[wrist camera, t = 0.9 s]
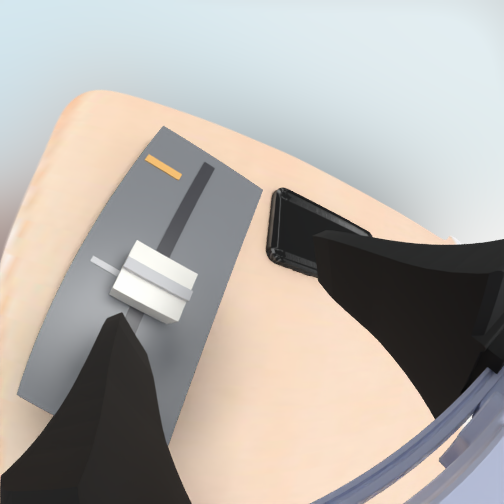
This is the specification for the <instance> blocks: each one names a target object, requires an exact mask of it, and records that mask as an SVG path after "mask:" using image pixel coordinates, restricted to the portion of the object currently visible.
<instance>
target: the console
mask: <svg viewBox="0 0 504 504" xmlns="http://www.w3.org/2000/svg"><path fill="white" fill-rule="evenodd" d="M262 191H263V190H262V189H261V188H260V187H258V186H257V185H255V184H254V183H252V182H251V181H249V180H248V179H246V178H245V177H243V176H242V175H240V174H239V173H237V172H236V171H234V170H233V169H231V168H230V167H228V166H227V165H225V164H223V163H222V162H220V161H219V160H217V159H216V158H214V157H213V156H211V155H210V154H208V153H206V152H205V151H203V150H202V149H200V148H199V147H197V146H195V145H194V144H192V143H191V142H189V141H187V140H186V139H184V138H183V137H181V136H179V135H178V134H176V133H174V132H173V131H171V130H169V129H168V128H166V127H165V126H163V127H162V128H161V129H160V130H159V132H158V133H157V134H156V135H155V137H154V138H153V139H152V141H151V142H150V143H149V144H148V146H147V147H146V148H145V150H144V151H143V152H142V154H141V155H140V156H139V158H138V159H137V160H136V162H135V163H134V165H133V166H132V167H131V169H130V170H129V172H128V173H127V174H126V176H125V177H124V179H123V180H122V182H121V183H120V185H119V186H118V187H117V189H116V190H115V192H114V193H113V195H112V196H111V198H110V200H109V201H108V203H107V204H106V206H105V207H104V209H103V210H102V212H101V214H100V215H99V217H98V218H97V220H96V222H95V223H94V225H93V227H92V228H91V230H90V232H89V233H88V235H87V237H86V239H85V240H84V242H83V244H82V246H81V247H80V249H79V251H78V253H77V255H76V256H75V258H74V260H73V262H72V264H71V266H70V268H69V270H68V271H67V273H66V275H65V277H64V279H63V281H62V283H61V285H60V287H59V289H58V291H57V293H56V296H55V298H54V300H53V302H52V304H51V306H50V308H49V311H48V313H47V315H46V317H45V320H44V322H43V324H42V327H41V329H40V331H39V334H38V336H37V339H36V341H35V344H34V346H33V349H32V352H31V354H30V357H29V360H28V362H27V365H26V368H25V371H24V374H23V377H22V380H21V383H20V386H19V389H18V392H17V395H18V396H20V397H21V398H23V399H25V400H27V401H28V402H30V403H32V404H34V405H35V406H37V407H39V408H41V409H43V410H45V411H47V412H48V413H50V414H52V415H55V413H56V412H57V411H58V409H59V408H60V406H61V405H62V403H63V401H64V400H65V398H66V397H67V395H68V393H69V392H70V390H71V388H72V386H73V385H74V383H75V381H76V379H77V377H78V375H79V373H80V371H81V369H82V367H83V365H84V363H85V361H86V359H87V357H88V355H89V353H90V351H91V349H92V347H93V345H94V343H95V341H96V338H97V336H98V334H99V332H100V330H101V328H102V326H103V324H104V322H105V320H106V319H107V318H108V317H111V316H113V315H116V314H118V313H121V312H122V313H123V314H124V316H125V318H126V320H127V321H128V323H129V325H130V326H131V328H132V330H133V332H134V333H135V335H136V337H137V338H138V340H139V341H140V343H141V345H142V346H143V348H144V350H145V351H146V353H147V355H148V359H149V362H150V366H151V369H152V373H153V377H154V382H155V388H156V394H157V400H158V405H159V411H160V416H161V422H162V427H163V432H164V435H165V439H166V443H167V446H168V445H169V442H170V439H171V436H172V434H173V431H174V428H175V425H176V422H177V420H178V417H179V414H180V411H181V408H182V406H183V403H184V400H185V397H186V395H187V392H188V389H189V386H190V384H191V381H192V378H193V375H194V373H195V370H196V367H197V364H198V362H199V359H200V356H201V353H202V351H203V348H204V345H205V343H206V340H207V337H208V334H209V332H210V329H211V326H212V324H213V321H214V318H215V315H216V313H217V310H218V307H219V305H220V302H221V299H222V297H223V294H224V291H225V289H226V286H227V283H228V281H229V278H230V275H231V273H232V270H233V267H234V265H235V262H236V259H237V257H238V254H239V252H240V249H241V246H242V244H243V241H244V238H245V236H246V233H247V230H248V228H249V225H250V223H251V220H252V217H253V215H254V212H255V210H256V207H257V204H258V202H259V199H260V197H261V194H262ZM137 240H138V241H140V242H141V243H143V244H145V245H147V246H148V247H150V248H152V249H154V250H155V251H157V252H159V253H161V254H162V255H164V256H166V257H168V258H170V259H171V260H173V261H175V262H177V263H179V264H180V265H182V266H184V267H186V268H188V269H189V270H191V271H193V272H195V273H197V274H198V275H197V278H196V280H195V282H194V285H193V287H192V291H193V293H192V296H191V298H190V301H188V302H186V304H185V307H184V309H183V311H182V314H181V316H180V319H179V321H178V322H174V323H169V324H165V323H163V322H161V321H159V320H157V319H155V318H153V317H151V316H149V315H147V314H145V313H143V312H141V311H139V310H137V309H135V308H133V307H132V306H130V305H128V304H126V303H124V302H122V301H120V300H118V299H117V298H115V297H113V296H111V295H109V293H110V291H111V289H112V287H113V285H114V283H115V281H116V279H117V277H118V275H119V273H120V271H121V269H122V267H123V265H124V263H125V261H126V259H127V257H128V255H129V253H130V251H131V249H132V248H133V246H134V244H135V242H136V241H137Z"/></svg>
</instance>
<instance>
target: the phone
mask: <svg viewBox="0 0 504 504" xmlns="http://www.w3.org/2000/svg"><path fill="white" fill-rule="evenodd" d="M326 230H331V231H339V232H346V233H351V234H357V235H362V236H368V237H372V235H371V234H370V232H368V231H367V230H365V229H363V228H361V227H360V226H358V225H356V224H354V223H352V222H350V221H349V220H347V219H345V218H343V217H341V216H339V215H337V214H336V213H334V212H332V211H330V210H328V209H326V208H324V207H322V206H320V205H318V204H316V203H314V202H313V201H311V200H309V199H307V198H305V197H303V196H301V195H299V194H297V193H295V192H293V191H291V190H289V189H286V188H279V189H278V190H276V191H275V192H274V193H273V195H272V200H271V209H270V218H269V227H268V236H267V245H266V252H267V256H268V257H269V259H270V260H271V261H272V262H274V263H275V264H278V265H281V266H284V267H287V268H290V269H293V270H295V271H298V272H301V273H304V274H306V275H309V276H313V277H316V278H318V275H317V266H316V258H315V250H314V243H313V235H316V234H318V233H321V232H323V231H326Z"/></svg>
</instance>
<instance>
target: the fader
mask: <svg viewBox="0 0 504 504" xmlns="http://www.w3.org/2000/svg"><path fill="white" fill-rule="evenodd" d="M197 275H198V274H197V273H195V272H193V271H191V270H189V269H188V268H186V267H184V266H182V265H180V264H179V263H177V262H175V261H173V260H171V259H170V258H168V257H166V256H164V255H162V254H161V253H159V252H157V251H155V250H154V249H152V248H150V247H148V246H147V245H145V244H143V243H141V242H140V241H138V240H137V241H136V242H135V244H134V246H133V248H132V249H131V251H130V253H129V255H128V257H127V259H126V261H125V263H124V265H123V267H122V269H121V271H120V273H119V275H118V277H117V279H116V281H115V283H114V285H113V287H112V289H111V291H110V293H109V295H111V296H113V297H115V298H117V299H118V300H120V301H122V302H124V303H126V304H128V305H130V306H132V307H133V308H135V309H137V310H139V311H141V312H143V313H145V314H147V315H149V316H151V317H153V318H155V319H157V320H159V321H161V322H163V323H165V324H169V323H174V322H178V321H179V319H180V316H181V314H182V311H183V309H184V307H185V304H186V302H188V301H190V298H191V296H192V293H193V291H192V287H193V285H194V282H195V280H196V278H197Z"/></svg>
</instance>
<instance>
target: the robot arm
mask: <svg viewBox="0 0 504 504" xmlns="http://www.w3.org/2000/svg"><path fill="white" fill-rule="evenodd" d="M313 243H314V250H315V258H316V266H317V275H318V281H319V283H320V284H321V285H322V286H323V288H324V289H325V290H326V291H327V293H328V294H329V295H330V296H331V297H332V298H333V299H334V300H335V301H336V302H337V303H338V304H339V305H340V306H341V307H342V308H343V309H344V310H346V311H347V312H348V313H349V314H350V315H351V316H352V317H353V318H355V319H356V320H357V321H358V322H359V323H360V324H361V325H362V326H363V327H365V328H366V329H367V330H368V331H369V332H370V333H371V334H372V335H373V336H374V337H375V338H376V339H377V340H378V341H379V342H380V343H381V344H382V345H383V346H384V348H385V349H386V350H387V351H388V352H389V353H390V355H391V356H392V357H393V358H394V360H395V361H396V362H397V363H398V365H399V366H400V367H401V368H402V370H403V371H404V372H405V374H406V375H407V376H408V378H409V379H410V381H411V382H412V383H413V385H414V386H415V388H416V389H417V390H418V392H419V393H420V395H421V397H422V398H423V400H424V401H425V403H426V405H427V406H428V408H429V409H430V411H431V413H432V415H433V417H434V418H435V420H434V421H433V422H432V423H431V424H430V425H428V426H427V427H426V428H425V429H424V430H422V431H421V432H420V433H419V434H418V435H416V436H415V437H414V438H413V439H411V440H410V441H409V442H408V443H406V444H405V445H404V446H402V447H401V448H400V449H398V450H397V451H396V452H394V453H393V454H392V455H390V456H389V457H387V458H386V459H385V460H383V461H382V462H380V463H379V464H377V465H376V466H374V467H373V468H371V469H370V470H368V471H367V472H365V473H364V474H362V475H360V476H359V477H357V478H356V479H354V480H352V481H351V482H349V483H347V484H346V485H344V486H342V487H340V488H339V489H337V490H335V491H333V492H331V493H330V494H328V495H326V496H324V497H322V498H320V499H318V500H316V501H314V502H312V503H310V504H363V503H365V502H367V501H368V500H370V499H371V498H373V497H375V496H376V495H378V494H379V493H381V492H382V491H384V490H385V489H386V488H388V487H389V486H391V485H392V484H394V483H395V482H396V481H398V480H399V479H400V478H402V477H403V476H404V475H406V474H407V473H408V472H410V471H411V470H412V469H413V468H415V467H416V466H417V465H419V464H420V463H421V462H422V461H423V460H425V459H426V458H427V457H428V456H429V455H430V454H432V453H433V452H434V451H435V450H436V449H437V448H438V447H440V446H441V445H442V444H443V443H444V442H445V441H446V440H447V439H448V438H449V437H450V436H451V435H452V434H454V433H455V432H456V431H457V430H458V429H459V428H460V427H461V426H462V425H463V424H464V423H465V422H466V421H467V419H468V418H469V417H470V416H471V415H472V414H473V415H472V419H471V421H470V422H469V423H468V424H467V425H466V426H465V427H464V428H463V430H462V431H461V432H460V433H459V435H458V436H457V438H456V439H455V441H454V442H453V443H452V445H451V446H450V447H449V448H448V449H447V450H446V452H445V453H444V454H443V455H442V456H441V457H440V458H439V462H440V463H441V464H442V465H443V466H444V467H445V468H446V469H445V470H444V471H443V472H442V473H441V474H439V475H438V476H437V477H436V478H435V479H434V480H432V481H431V482H430V483H429V484H428V485H426V486H425V487H424V488H423V489H422V490H420V491H419V492H418V493H417V494H415V495H414V496H413V497H411V498H410V499H409V500H407V501H406V502H405V503H403V504H504V239H502V240H496V241H491V242H484V243H475V244H461V245H429V244H415V243H406V242H398V241H391V240H385V239H379V238H373V237H368V236H362V235H357V234H351V233H346V232H339V231H331V230H326V231H323V232H321V233H318V234H316V235H313ZM0 504H191V502H190V499H189V497H188V495H187V493H186V491H185V489H184V487H183V484H182V482H181V480H180V477H179V475H178V472H177V470H176V468H175V465H174V462H173V460H172V457H171V454H170V451H169V449H168V446H167V443H166V439H165V435H164V432H163V427H162V422H161V416H160V411H159V405H158V400H157V394H156V388H155V382H154V377H153V373H152V369H151V366H150V362H149V359H148V355H147V353H146V351H145V350H144V348H143V346H142V345H141V343H140V341H139V340H138V338H137V337H136V335H135V333H134V332H133V330H132V328H131V326H130V325H129V323H128V321H127V320H126V318H125V316H124V314H123V313H122V312H121V313H118V314H116V315H113V316H111V317H108V318H107V319H106V320H105V322H104V324H103V326H102V328H101V330H100V332H99V334H98V336H97V338H96V341H95V343H94V345H93V347H92V349H91V351H90V353H89V355H88V357H87V359H86V361H85V363H84V365H83V367H82V369H81V371H80V373H79V375H78V377H77V379H76V381H75V383H74V385H73V386H72V388H71V390H70V392H69V393H68V395H67V397H66V398H65V400H64V401H63V403H62V405H61V406H60V408H59V409H58V411H57V412H56V413H55V415H54V416H53V418H52V419H51V420H50V422H49V423H48V425H47V426H46V427H45V429H44V430H43V431H42V433H41V434H40V435H39V436H38V438H37V439H36V440H35V441H34V443H33V444H32V445H31V446H30V447H29V448H28V449H27V451H26V452H25V453H24V454H23V455H22V456H21V457H20V458H19V459H18V460H17V461H16V462H15V463H14V464H13V465H12V466H11V467H10V468H9V469H8V470H7V471H6V472H5V473H3V474H2V475H1V481H0Z"/></svg>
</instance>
